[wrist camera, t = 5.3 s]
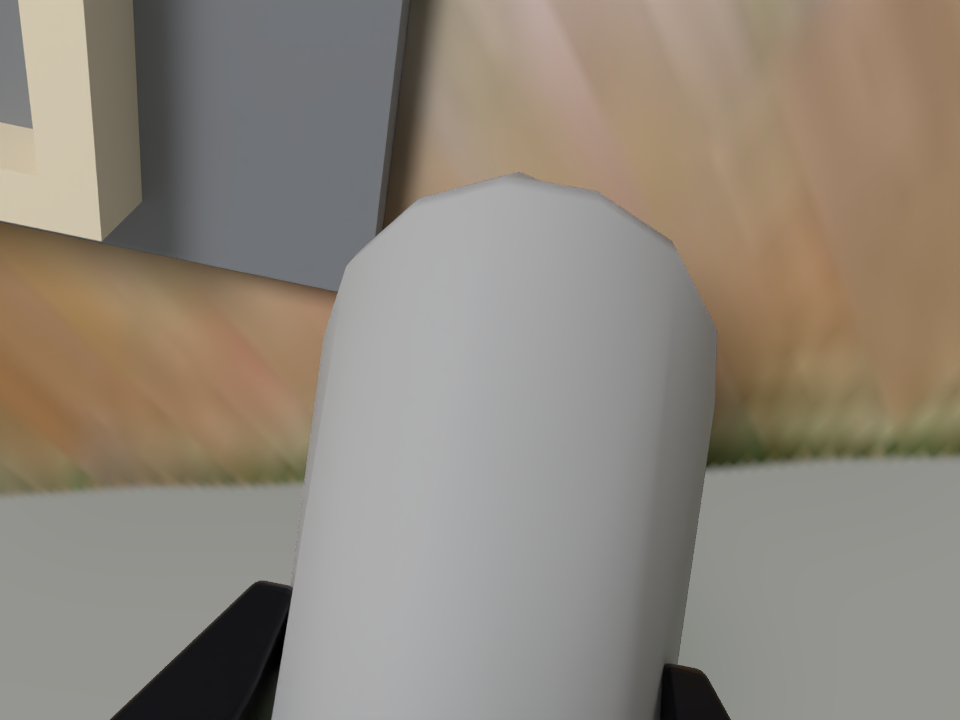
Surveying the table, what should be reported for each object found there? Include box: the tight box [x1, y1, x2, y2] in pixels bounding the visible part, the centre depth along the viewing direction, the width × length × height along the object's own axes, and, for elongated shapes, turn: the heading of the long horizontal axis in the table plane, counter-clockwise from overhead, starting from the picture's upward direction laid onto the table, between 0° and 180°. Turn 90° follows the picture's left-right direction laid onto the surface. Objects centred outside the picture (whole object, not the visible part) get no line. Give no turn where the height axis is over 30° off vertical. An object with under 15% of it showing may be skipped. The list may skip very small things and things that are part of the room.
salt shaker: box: [271, 172, 717, 720], centre depth 10 cm, size 6×6×13 cm
